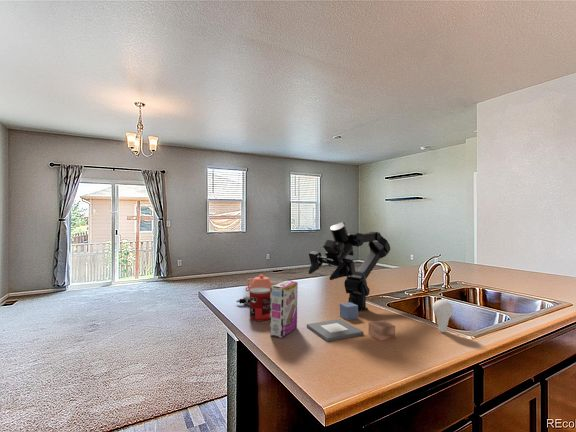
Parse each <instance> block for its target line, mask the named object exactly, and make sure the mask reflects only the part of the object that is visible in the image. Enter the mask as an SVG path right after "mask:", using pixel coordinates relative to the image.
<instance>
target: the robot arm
mask: <svg viewBox="0 0 576 432" xmlns="http://www.w3.org/2000/svg"><path fill="white" fill-rule="evenodd" d="M329 230H330V232H331V235H332V238H333V240H331V239H326V240H325V242H324V244H323V246H322V247H323V249H324V250H325V253H324V254H325V256H322V253H321V252H318V251H315V250H311V251H310V252H309V253H308V256H309V262H310V264H311V265H310V267H309V270H308V274H309V275H312V274H313V273H314V272H317V270H319V269H320V268H321V267H322V266H323V263H324V264H327V265H328V266H329V267H331V268H332V267H333V268H336V269H335V270H334V271H333V272H332V273H331V275H330V276H329V281H333V280H336V279H339V278H343V277H346V278H345V280H344V281H343V282H344V288H345V294H349V297H348V303H349V302H351V303H353V304H355V305H358V312H359V311H366V310H368V309H369V308H368V307H366V306H367V305H366V304H367V302H366V301H367V300H366V297H368V296H369V295H370V288H369V286H368V283H367V278H368V277H369V276H370V274H371V273H372V271H373V270H374V268H375V267H376V265H377V264H378V262H379V261H380V260H381V259H383V258H386V257H387V256H388V254H389V253H390V251H391V245H390V243H389V242H388V240H387V239H386V238H385V237H383V236H382V235H381V232H378V231H369V232H363V233H361V232H348V230H347V228H346V224H345V222H344V221H343V222H342V221H340V222H338V223H335V224H333V225H331V226H330V229H329ZM364 243H368V244H367V245H368V247H369V250H370V251H369V254H368V255H367V256H366V258H365V260H364V261H363V262H362V263H361V265H360V267H359V268H358V269H357V271H356V268H355V262H354V260H352V259H350V258H347V257H348V256H353V257H354V248H353V247H356V248H357V247H358V248H359V247H362V246H363V244H364Z"/></svg>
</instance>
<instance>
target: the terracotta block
mask: <svg viewBox="0 0 576 432" xmlns="http://www.w3.org/2000/svg"><path fill="white" fill-rule="evenodd" d="M367 331H368V335H370V336H371V337H373V338H375V339H377V340H379V341H385V340H390V339H394V338H396V325H394V324H392V323H390V322H388V321H386V320H382V319H381V320H375V321H370V322H368V330H367Z"/></svg>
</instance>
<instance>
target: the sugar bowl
mask: <svg viewBox="0 0 576 432" xmlns="http://www.w3.org/2000/svg"><path fill="white" fill-rule="evenodd" d="M249 281H251V283H250V284H249ZM246 285H247V286H246V288H245V292H249V293H250V289H252V288H268V289H270V295H271V286H273V282H272V281H271V279H270V278H269V277H267V276H265V275H264V274H259V275H258V276H257V277H254V278H248V279H247V280H246Z"/></svg>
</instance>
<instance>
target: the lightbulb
mask: <svg viewBox="0 0 576 432" xmlns="http://www.w3.org/2000/svg"><path fill="white" fill-rule="evenodd" d="M432 310H433V314H434V315H435V317H436V319H437V324H438V331H439V332H441V333H446V332H447V331H448V325H449V320H450V318H451V316H452V314H453V312H454V307H453V305H452V304H451V303H450V302H449V301H448V300H445V299H437V300H436V301H435V302H434V303H433V306H432Z"/></svg>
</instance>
